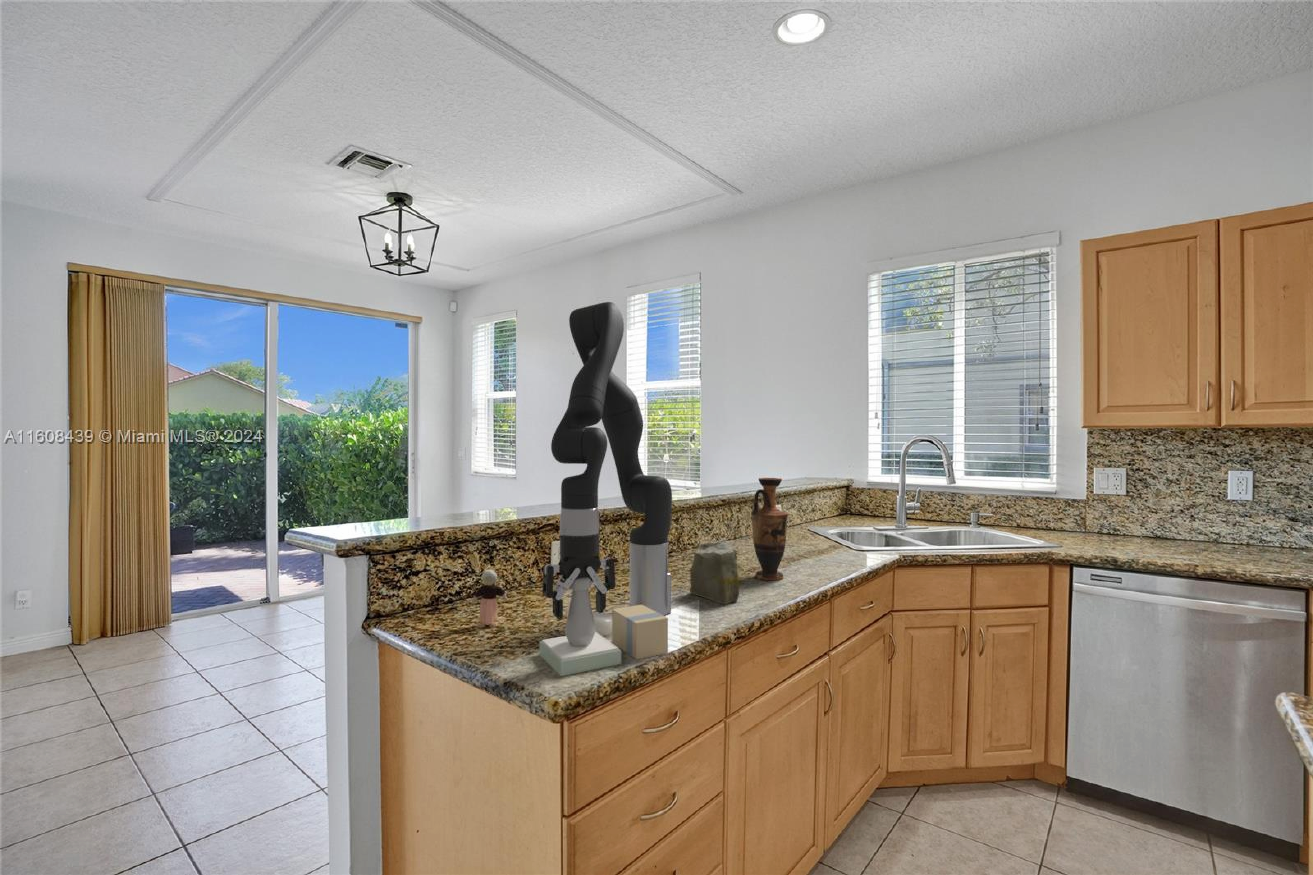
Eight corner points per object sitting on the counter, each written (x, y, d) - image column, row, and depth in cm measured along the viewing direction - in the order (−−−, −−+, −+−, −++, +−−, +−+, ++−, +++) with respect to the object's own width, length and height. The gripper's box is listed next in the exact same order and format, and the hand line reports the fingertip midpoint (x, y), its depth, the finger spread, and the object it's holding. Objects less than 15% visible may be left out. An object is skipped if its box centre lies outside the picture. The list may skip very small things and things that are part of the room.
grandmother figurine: (473, 630, 135) (472, 572, 135) (471, 625, 138) (471, 569, 138) (508, 626, 138) (508, 570, 138) (506, 621, 141) (506, 566, 141)
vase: (788, 574, 188) (788, 477, 188) (787, 582, 177) (787, 479, 177) (752, 572, 190) (752, 476, 190) (749, 580, 180) (749, 479, 180)
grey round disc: (581, 627, 135) (582, 613, 135) (608, 624, 138) (609, 611, 138) (590, 638, 130) (591, 624, 129) (618, 635, 132) (619, 621, 132)
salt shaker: (597, 647, 116) (597, 579, 115) (567, 650, 114) (567, 581, 114) (591, 636, 121) (592, 571, 121) (563, 639, 120) (563, 573, 119)
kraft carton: (642, 637, 130) (642, 604, 130) (668, 653, 121) (668, 617, 121) (612, 643, 127) (611, 609, 127) (636, 659, 117) (636, 623, 117)
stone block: (725, 606, 154) (725, 546, 154) (687, 593, 166) (687, 538, 166) (754, 599, 160) (754, 542, 160) (716, 587, 172) (716, 534, 172)
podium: (595, 644, 126) (595, 630, 126) (621, 663, 115) (621, 648, 115) (539, 654, 120) (539, 639, 120) (560, 676, 109) (560, 659, 109)
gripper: (605, 525, 124) (605, 605, 124) (537, 531, 117) (537, 615, 117) (621, 530, 118) (621, 615, 118) (550, 536, 111) (550, 626, 111)
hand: (579, 615), depth 118 cm, fingers open, 8 cm apart
